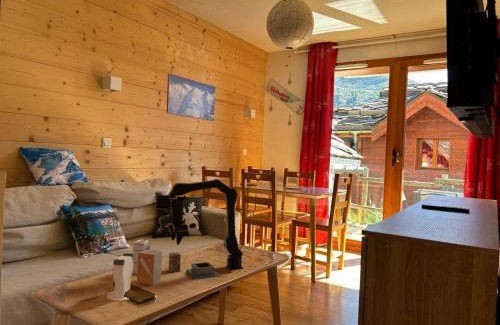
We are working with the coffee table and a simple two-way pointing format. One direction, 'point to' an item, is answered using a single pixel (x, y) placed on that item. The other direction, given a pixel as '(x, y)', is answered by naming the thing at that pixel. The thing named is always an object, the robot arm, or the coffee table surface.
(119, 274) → the white piece
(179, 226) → the robot arm
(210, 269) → the socket
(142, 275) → the small box
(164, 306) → the coffee table surface
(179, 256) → the peg
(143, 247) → the syrup box
